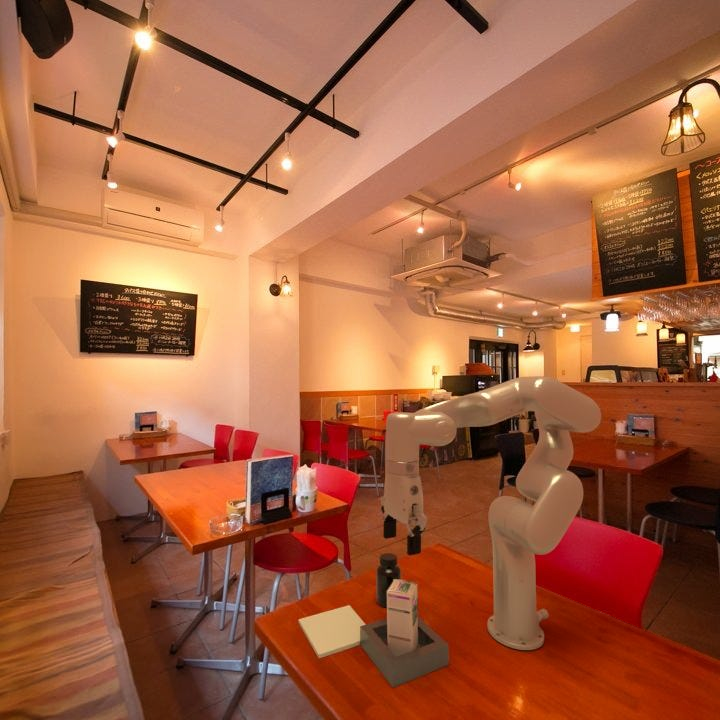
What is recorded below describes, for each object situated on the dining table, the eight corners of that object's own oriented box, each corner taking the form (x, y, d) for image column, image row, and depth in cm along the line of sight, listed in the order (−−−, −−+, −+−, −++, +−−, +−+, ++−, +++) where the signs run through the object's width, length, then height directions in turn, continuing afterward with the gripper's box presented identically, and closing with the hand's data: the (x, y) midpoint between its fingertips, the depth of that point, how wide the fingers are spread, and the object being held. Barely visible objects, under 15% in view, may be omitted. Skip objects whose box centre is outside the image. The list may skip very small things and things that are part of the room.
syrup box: (413, 666, 81) (413, 595, 82) (386, 659, 83) (386, 589, 84) (418, 649, 86) (418, 582, 87) (393, 643, 88) (393, 577, 89)
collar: (410, 627, 94) (410, 610, 94) (448, 664, 81) (448, 644, 82) (360, 644, 87) (360, 626, 88) (392, 687, 75) (392, 666, 75)
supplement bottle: (395, 593, 109) (395, 549, 110) (405, 606, 103) (405, 560, 104) (372, 597, 107) (372, 552, 108) (381, 611, 101) (381, 563, 101)
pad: (349, 608, 102) (349, 605, 102) (375, 639, 89) (375, 635, 89) (298, 622, 95) (298, 619, 95) (318, 658, 83) (318, 654, 83)
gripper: (439, 474, 81) (439, 558, 80) (395, 459, 96) (394, 529, 95) (410, 477, 78) (409, 564, 76) (369, 461, 93) (368, 534, 92)
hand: (401, 545), depth 86 cm, fingers open, 9 cm apart
